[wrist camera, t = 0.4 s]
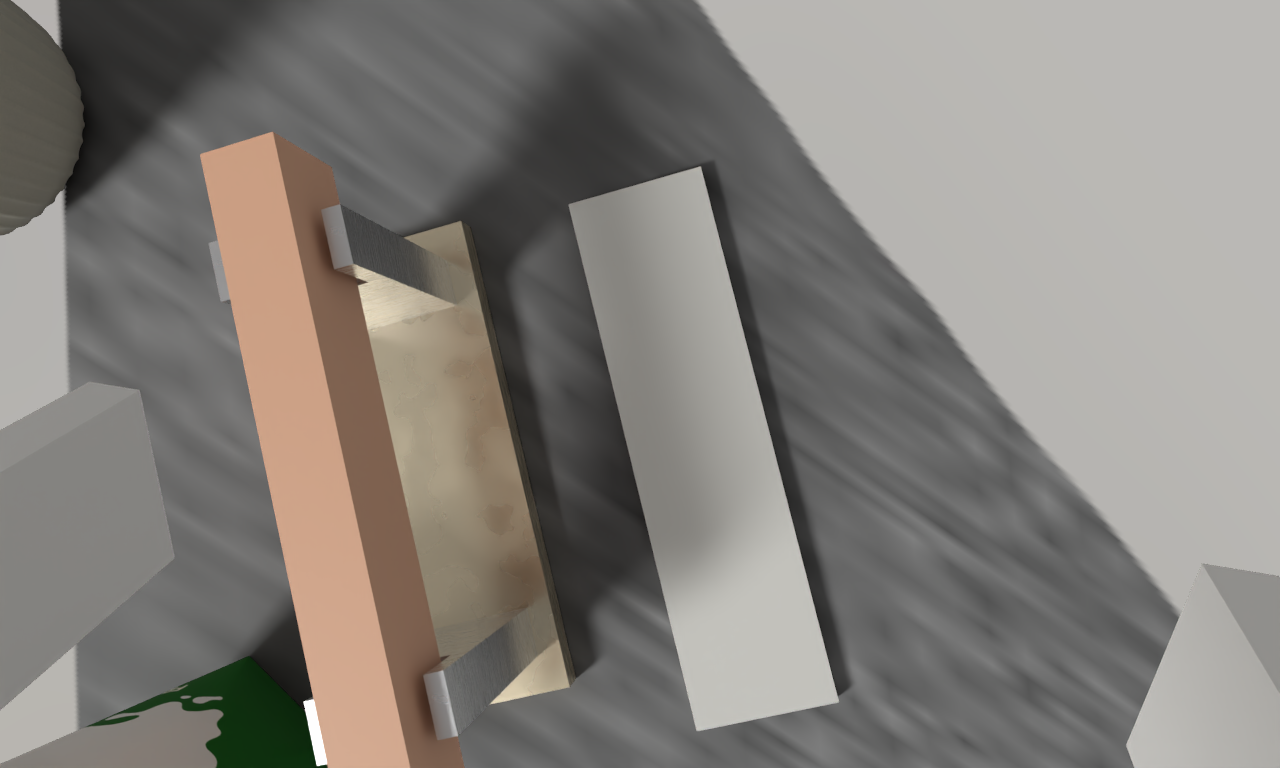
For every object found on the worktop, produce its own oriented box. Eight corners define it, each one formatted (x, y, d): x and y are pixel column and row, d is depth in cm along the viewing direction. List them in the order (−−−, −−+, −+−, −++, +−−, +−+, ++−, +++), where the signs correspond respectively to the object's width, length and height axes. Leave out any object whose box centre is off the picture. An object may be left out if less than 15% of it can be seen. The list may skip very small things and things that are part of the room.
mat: (837, 697, 43) (839, 702, 42) (698, 725, 44) (696, 731, 43) (701, 170, 45) (700, 166, 44) (571, 208, 46) (568, 204, 45)
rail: (468, 786, 35) (425, 839, 31) (398, 801, 35) (346, 854, 31) (331, 167, 37) (272, 131, 33) (267, 186, 38) (200, 154, 33)
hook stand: (576, 678, 45) (499, 779, 32) (429, 710, 46) (297, 820, 33) (470, 227, 47) (358, 150, 34) (332, 267, 48) (172, 207, 35)
